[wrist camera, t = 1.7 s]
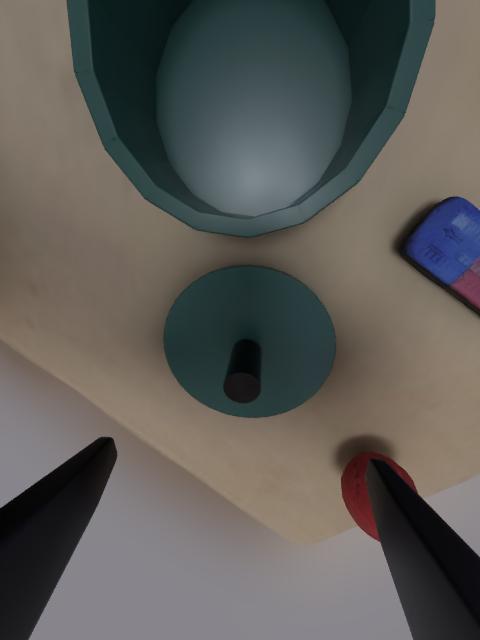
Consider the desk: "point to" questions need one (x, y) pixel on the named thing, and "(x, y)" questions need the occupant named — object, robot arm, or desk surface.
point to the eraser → (448, 249)
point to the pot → (247, 99)
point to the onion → (364, 490)
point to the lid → (249, 341)
